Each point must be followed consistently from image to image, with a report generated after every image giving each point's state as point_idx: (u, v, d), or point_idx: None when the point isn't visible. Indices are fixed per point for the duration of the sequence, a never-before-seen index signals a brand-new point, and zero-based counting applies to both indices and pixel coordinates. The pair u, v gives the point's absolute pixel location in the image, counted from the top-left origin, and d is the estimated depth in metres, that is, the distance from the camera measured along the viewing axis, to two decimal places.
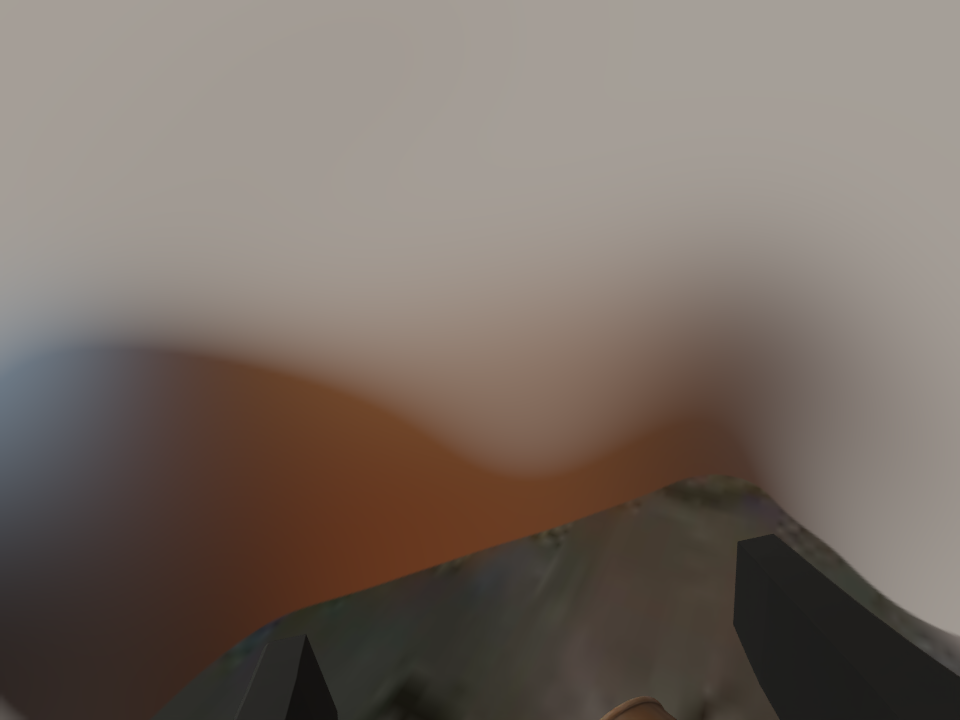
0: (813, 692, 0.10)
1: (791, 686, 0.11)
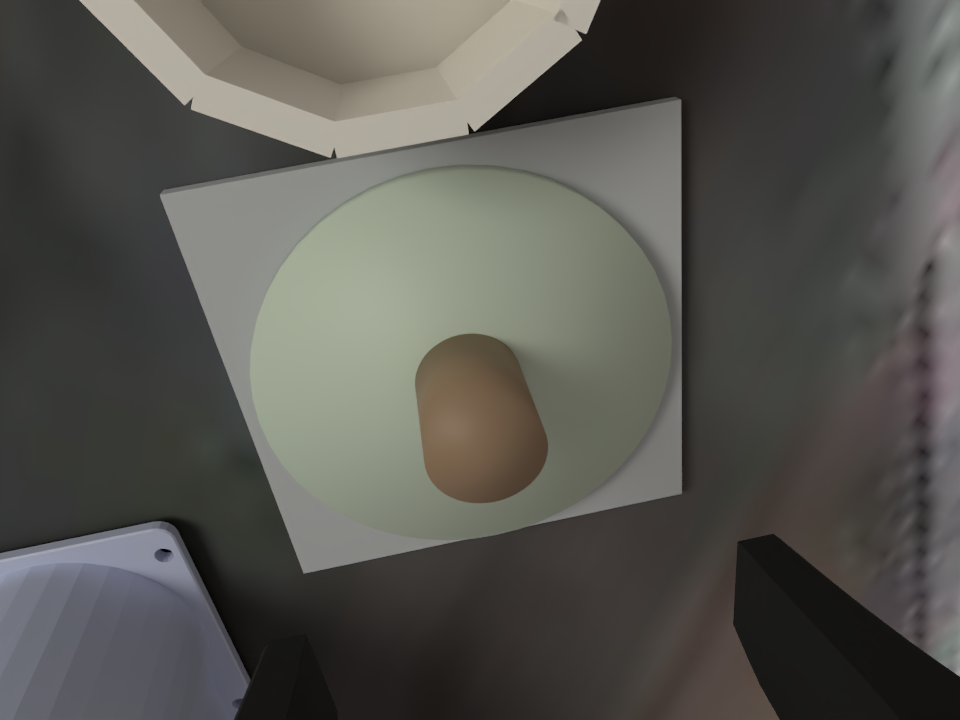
0: (813, 692, 0.10)
1: (791, 686, 0.11)
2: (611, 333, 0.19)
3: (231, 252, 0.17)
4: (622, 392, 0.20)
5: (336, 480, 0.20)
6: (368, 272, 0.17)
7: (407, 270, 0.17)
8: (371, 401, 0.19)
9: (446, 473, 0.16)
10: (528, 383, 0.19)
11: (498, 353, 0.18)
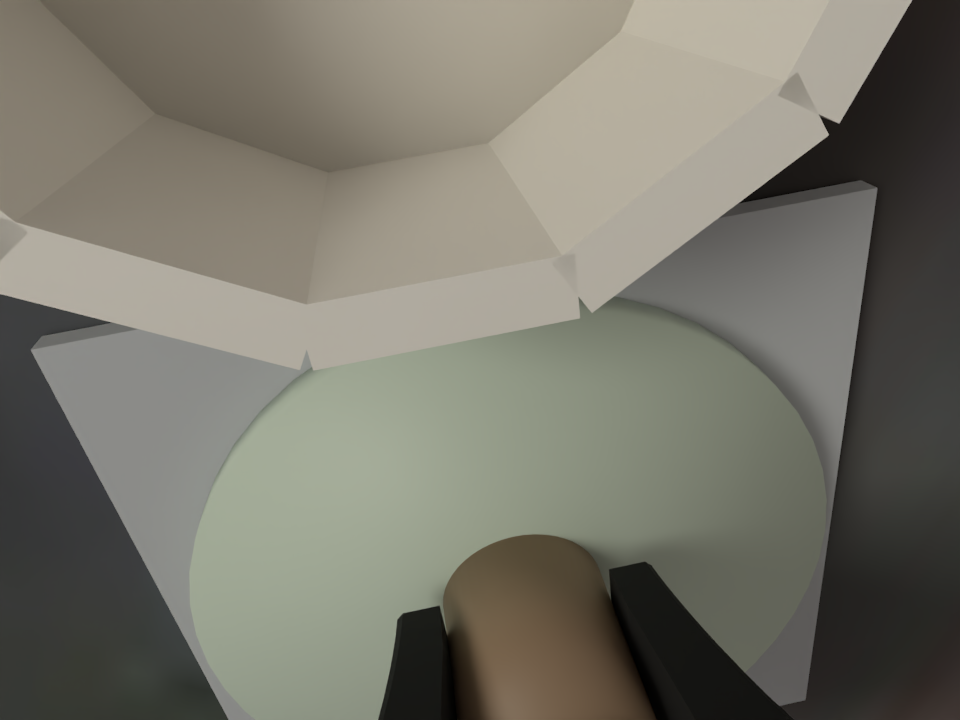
0: None
1: None
2: (738, 524, 0.12)
3: (155, 429, 0.11)
4: (746, 596, 0.13)
5: None
6: (372, 460, 0.11)
7: (433, 455, 0.11)
8: (377, 627, 0.12)
9: None
10: None
11: (575, 575, 0.11)
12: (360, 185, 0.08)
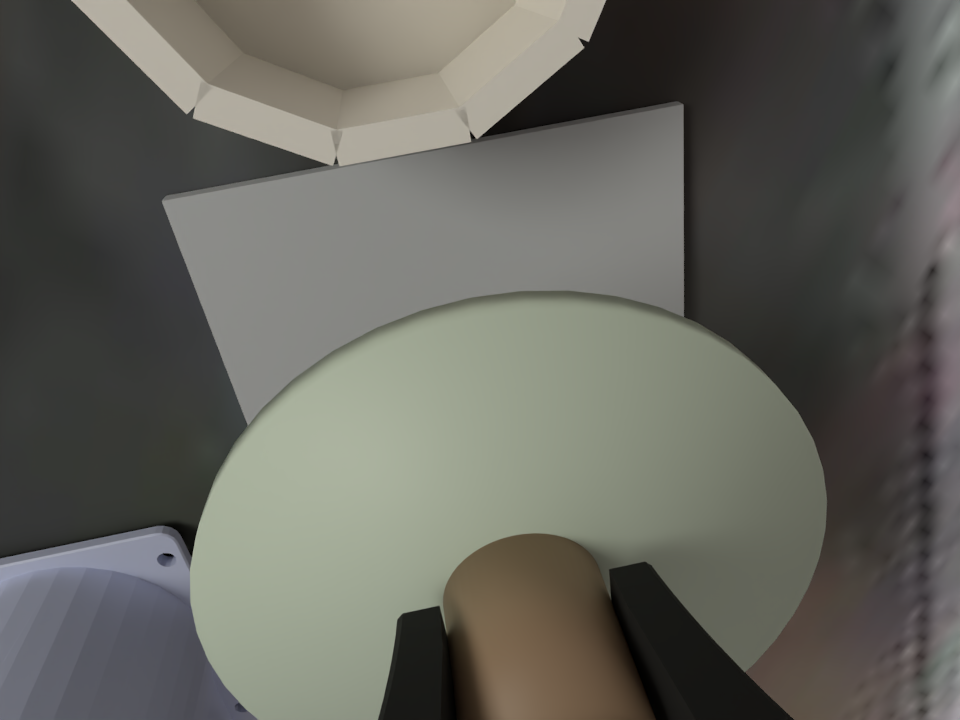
0: None
1: None
2: (738, 524, 0.12)
3: (233, 258, 0.17)
4: (746, 596, 0.13)
5: None
6: (373, 458, 0.11)
7: (434, 453, 0.11)
8: (377, 626, 0.12)
9: None
10: None
11: (575, 574, 0.11)
12: (362, 93, 0.15)
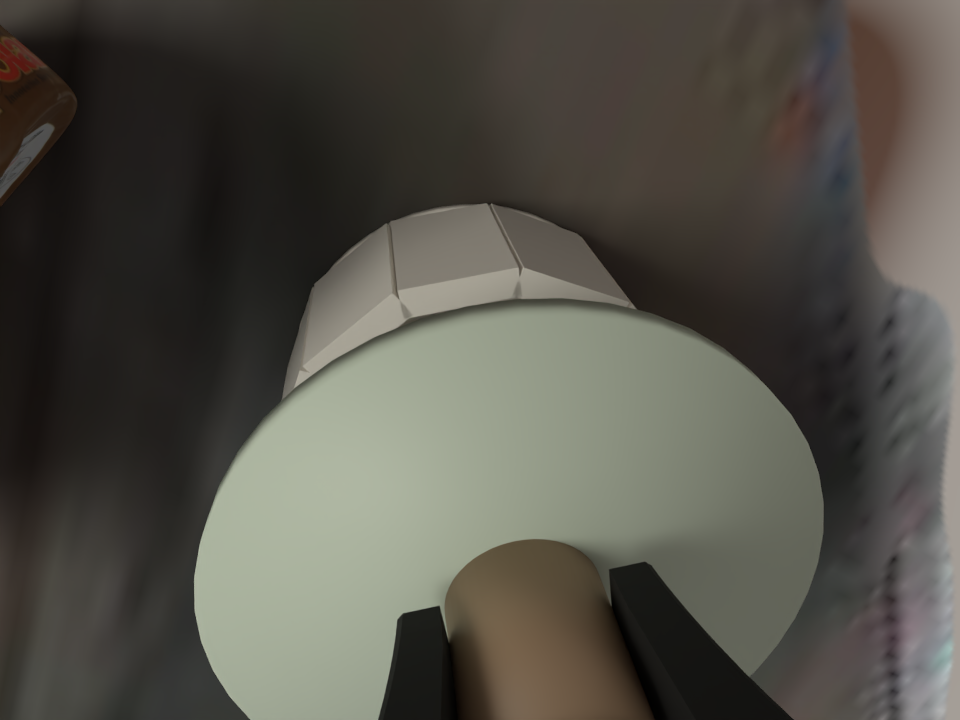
0: None
1: None
2: (736, 528, 0.13)
3: None
4: (746, 601, 0.13)
5: None
6: (373, 465, 0.11)
7: (433, 460, 0.11)
8: (379, 633, 0.13)
9: None
10: None
11: (574, 579, 0.11)
12: None
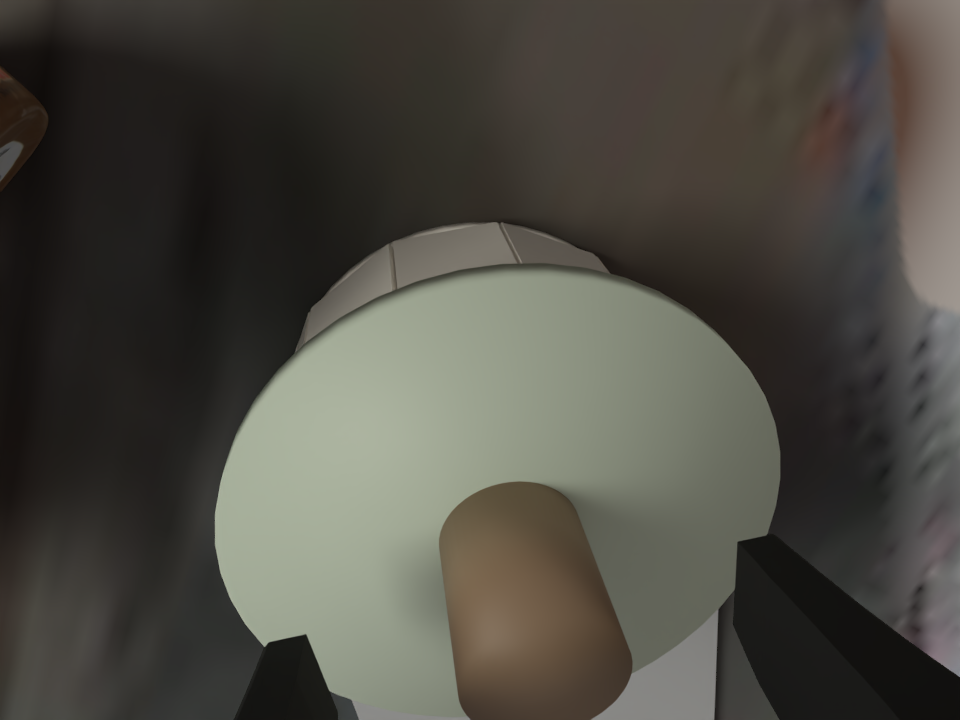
0: (813, 692, 0.10)
1: (791, 686, 0.11)
2: (701, 473, 0.14)
3: None
4: (711, 541, 0.15)
5: (335, 659, 0.15)
6: (375, 412, 0.12)
7: (429, 408, 0.12)
8: (380, 567, 0.14)
9: (489, 706, 0.11)
10: (589, 537, 0.14)
11: (554, 515, 0.13)
12: None
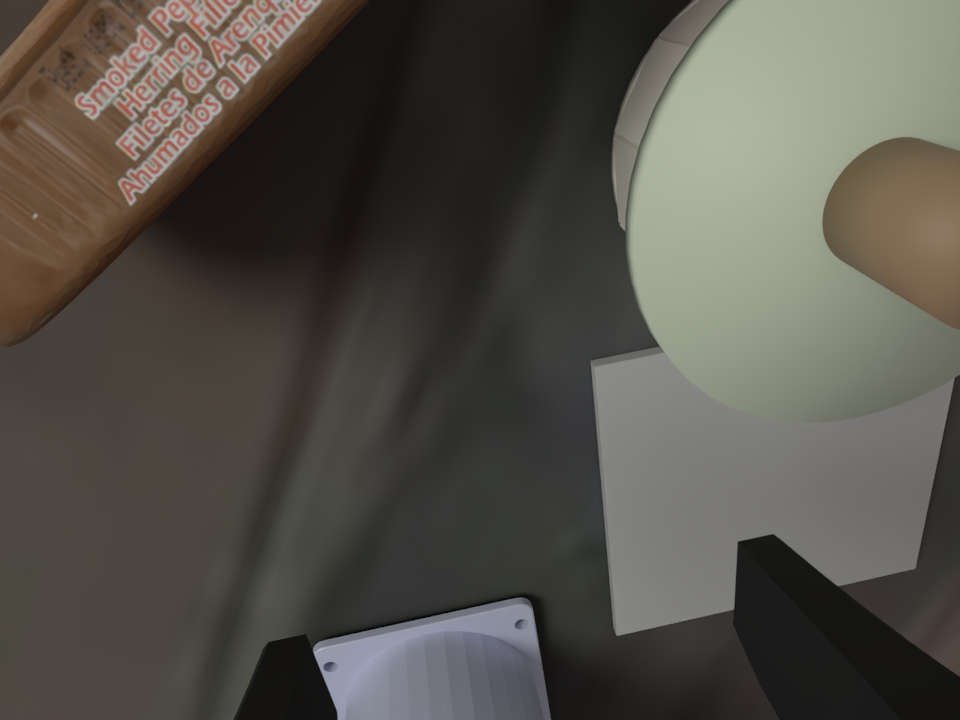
0: (813, 692, 0.10)
1: (791, 686, 0.11)
2: None
3: (632, 404, 0.22)
4: None
5: (701, 339, 0.16)
6: (812, 44, 0.13)
7: (857, 42, 0.14)
8: (768, 230, 0.15)
9: (947, 284, 0.13)
10: None
11: None
12: None
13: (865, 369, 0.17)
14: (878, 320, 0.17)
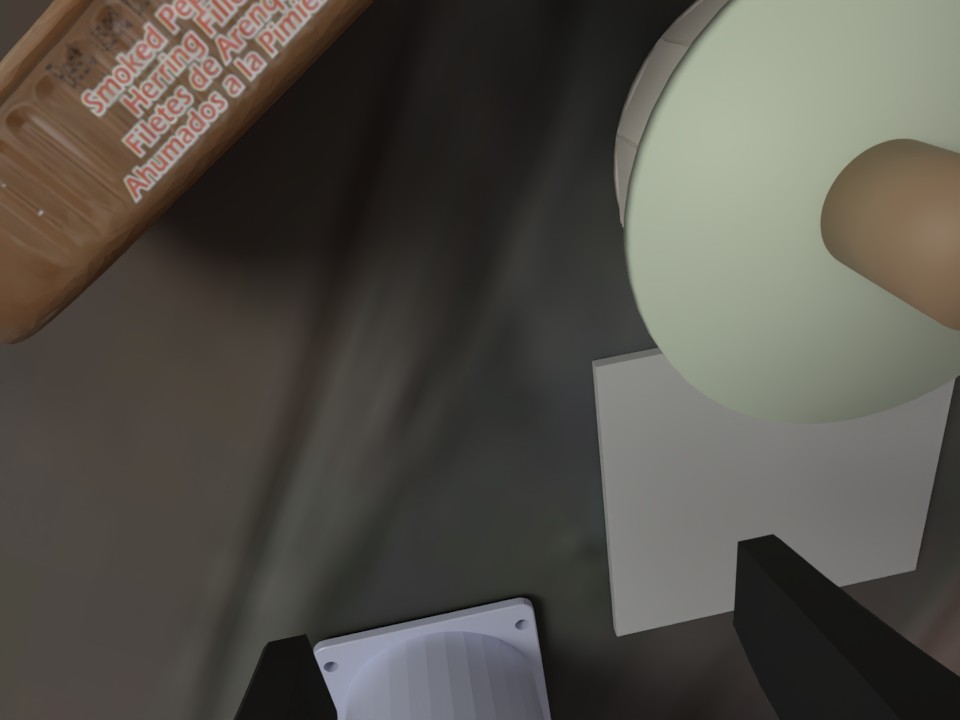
0: (813, 692, 0.10)
1: (791, 686, 0.11)
2: None
3: (633, 404, 0.22)
4: None
5: (700, 340, 0.16)
6: (810, 45, 0.13)
7: (855, 44, 0.14)
8: (767, 231, 0.15)
9: (944, 285, 0.13)
10: None
11: None
12: None
13: (864, 370, 0.17)
14: (876, 321, 0.17)
